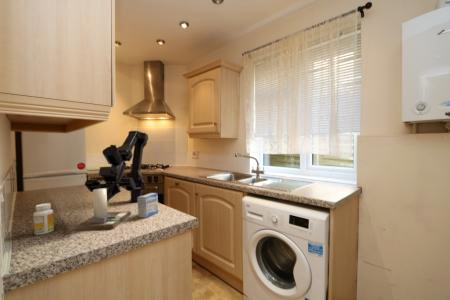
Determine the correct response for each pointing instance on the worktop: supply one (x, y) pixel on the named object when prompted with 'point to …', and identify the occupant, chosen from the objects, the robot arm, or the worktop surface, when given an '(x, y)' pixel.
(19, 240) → the worktop surface
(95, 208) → the white tall cylinder
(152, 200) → the medicine box
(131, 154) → the robot arm
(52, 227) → the supplement bottle
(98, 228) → the base
